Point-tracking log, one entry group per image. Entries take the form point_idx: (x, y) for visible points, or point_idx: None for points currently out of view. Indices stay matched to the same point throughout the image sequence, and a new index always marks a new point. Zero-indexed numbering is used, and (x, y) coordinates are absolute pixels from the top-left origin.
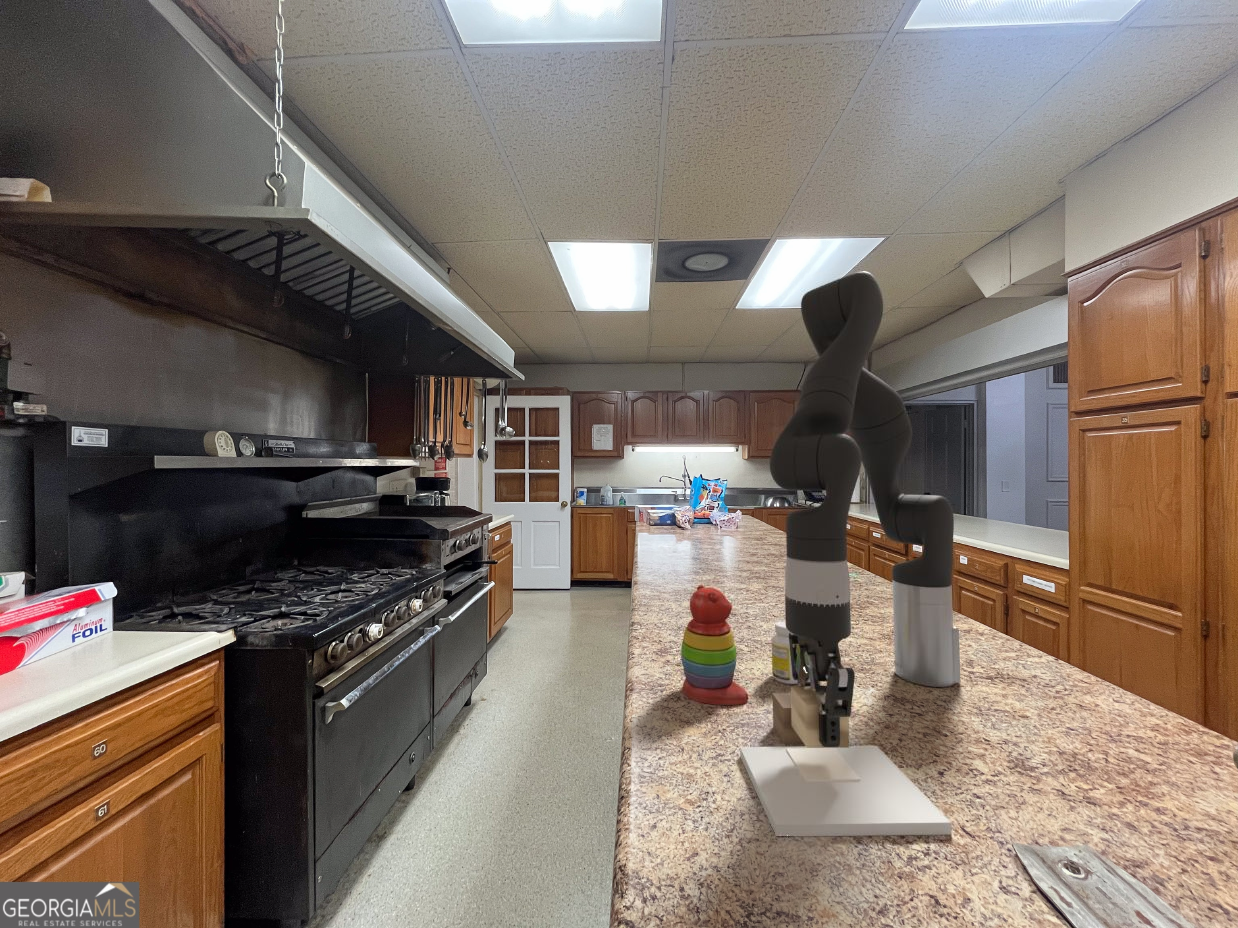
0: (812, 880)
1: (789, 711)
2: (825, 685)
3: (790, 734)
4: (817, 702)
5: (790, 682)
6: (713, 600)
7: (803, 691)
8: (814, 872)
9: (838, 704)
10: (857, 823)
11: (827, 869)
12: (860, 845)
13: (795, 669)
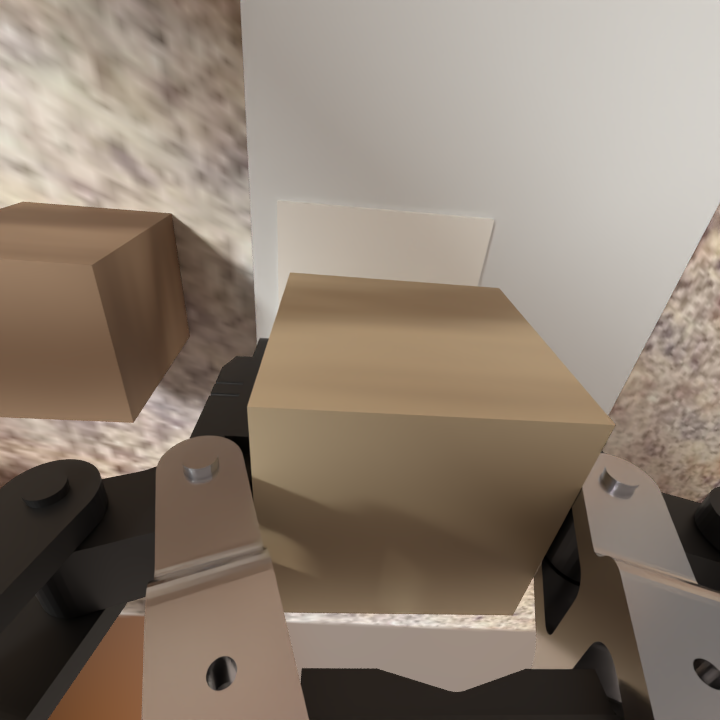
0: (668, 458)
1: (135, 387)
2: (604, 690)
3: (174, 331)
4: (535, 589)
5: None
6: None
7: (339, 580)
8: (656, 449)
9: (697, 565)
10: (645, 341)
11: (664, 427)
12: (652, 337)
13: (91, 654)
